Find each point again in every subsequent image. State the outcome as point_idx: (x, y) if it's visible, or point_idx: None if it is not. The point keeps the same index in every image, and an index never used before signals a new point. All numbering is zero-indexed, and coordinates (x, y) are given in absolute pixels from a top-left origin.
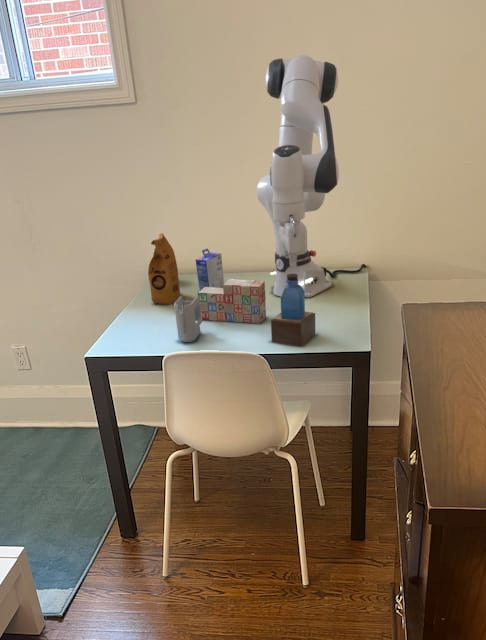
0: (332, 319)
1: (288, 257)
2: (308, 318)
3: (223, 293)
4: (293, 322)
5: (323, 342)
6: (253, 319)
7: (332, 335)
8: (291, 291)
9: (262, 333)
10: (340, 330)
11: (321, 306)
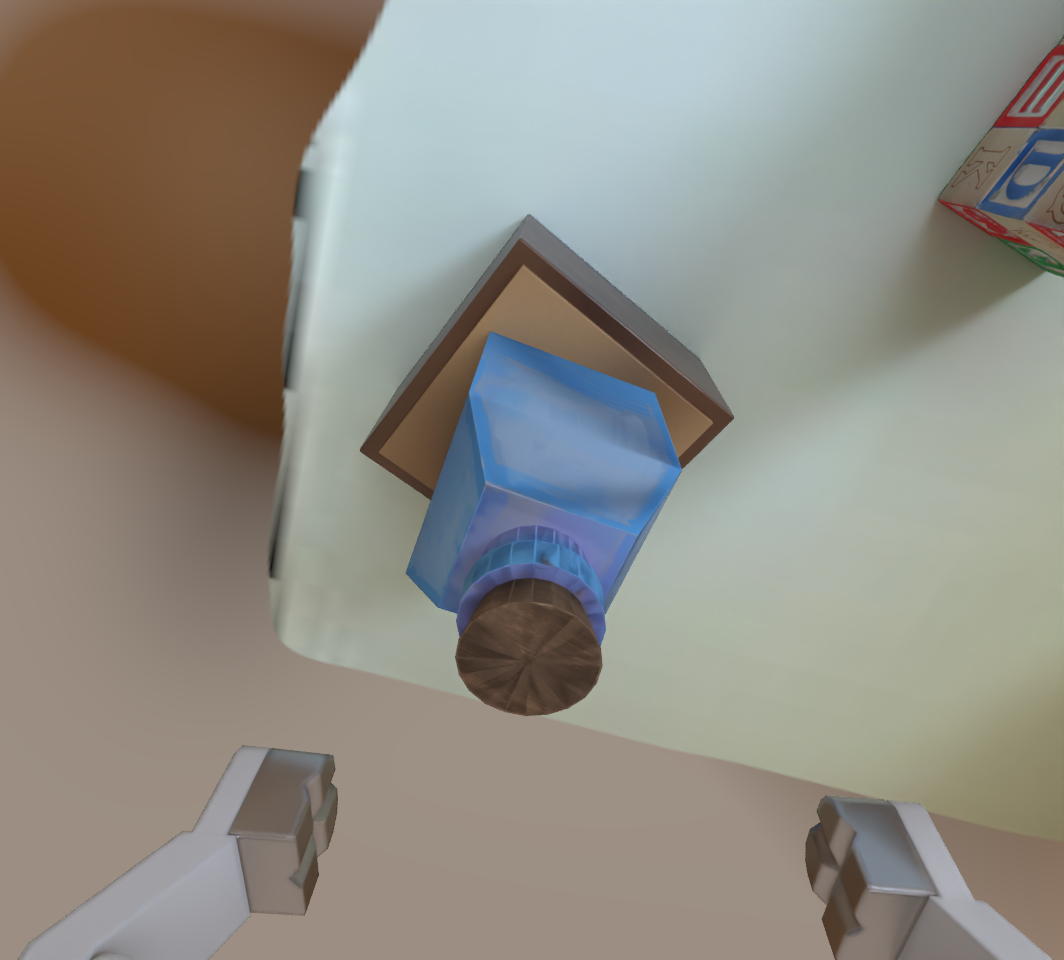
0: (765, 644)
1: (823, 831)
2: None
3: None
4: (403, 407)
5: None
6: (997, 144)
7: None
8: (454, 531)
9: (727, 176)
10: None
11: (1011, 646)
